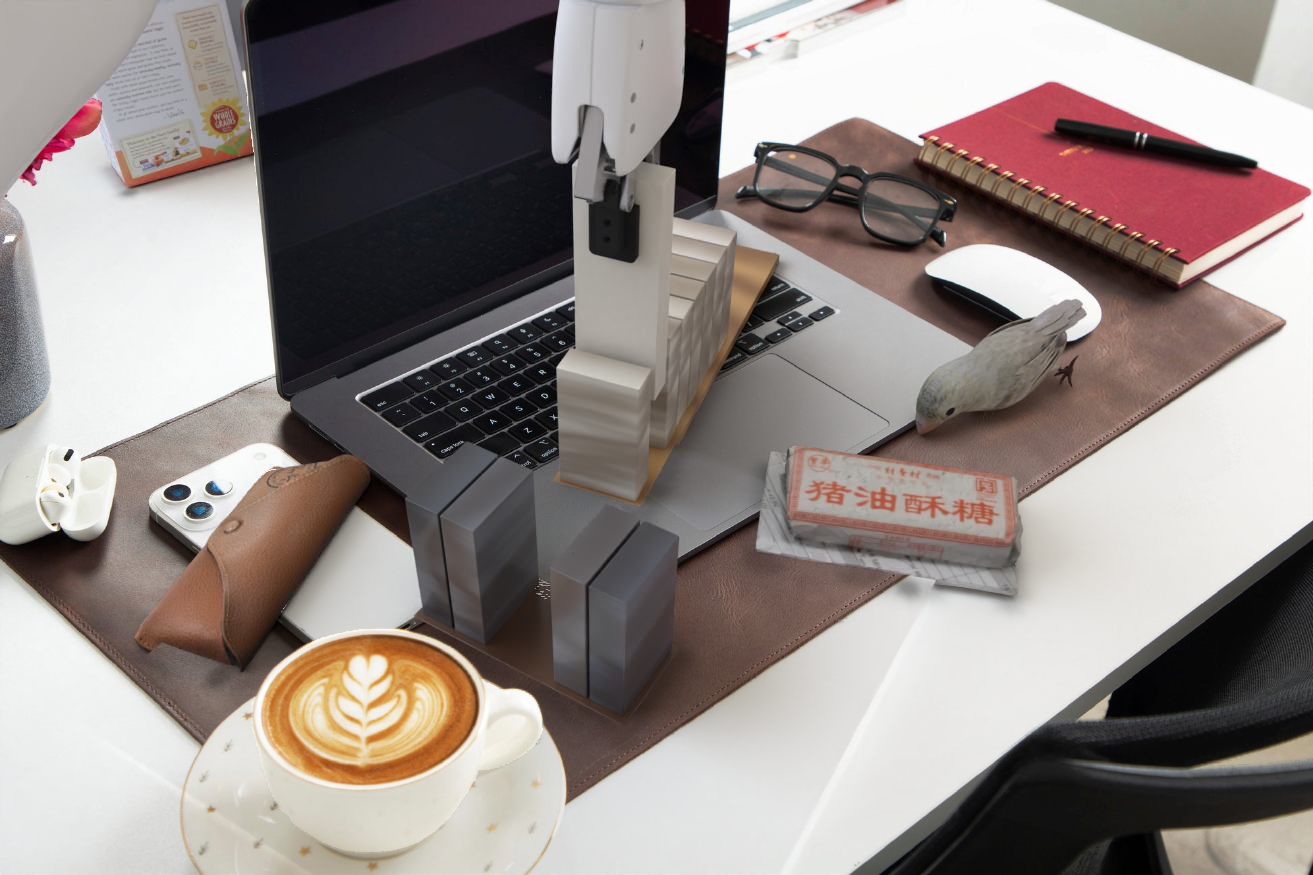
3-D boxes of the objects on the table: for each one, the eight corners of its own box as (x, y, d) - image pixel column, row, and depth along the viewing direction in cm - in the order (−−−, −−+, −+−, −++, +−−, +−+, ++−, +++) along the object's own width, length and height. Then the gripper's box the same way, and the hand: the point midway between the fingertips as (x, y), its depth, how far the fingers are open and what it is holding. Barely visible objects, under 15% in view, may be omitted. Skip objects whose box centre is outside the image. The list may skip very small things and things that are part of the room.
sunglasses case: (268, 459, 85) (296, 410, 81) (350, 510, 86) (382, 464, 82) (124, 647, 72) (148, 600, 68) (223, 703, 73) (253, 661, 69)
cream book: (654, 401, 80) (663, 185, 69) (575, 380, 81) (571, 164, 70) (665, 382, 81) (676, 168, 70) (588, 362, 83) (586, 148, 72)
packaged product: (1023, 452, 82) (1032, 554, 75) (1007, 500, 85) (1014, 602, 78) (773, 417, 84) (758, 513, 77) (767, 465, 87) (752, 561, 80)
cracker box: (241, 131, 124) (195, -70, 110) (262, 154, 120) (217, -51, 106) (108, 165, 117) (41, -44, 103) (126, 190, 114) (59, -23, 100)
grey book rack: (680, 655, 74) (690, 532, 66) (624, 735, 69) (627, 613, 61) (479, 557, 79) (466, 433, 72) (414, 625, 75) (393, 501, 67)
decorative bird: (892, 417, 92) (909, 342, 87) (1033, 355, 99) (1056, 283, 94) (938, 456, 89) (959, 380, 84) (1081, 390, 95) (1108, 316, 90)
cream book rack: (640, 516, 83) (644, 394, 75) (552, 490, 84) (547, 368, 77) (778, 263, 108) (792, 152, 100) (708, 247, 110) (717, 136, 102)
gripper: (618, -101, 68) (615, 176, 80) (496, -8, 57) (515, 297, 69) (738, -82, 66) (716, 198, 79) (637, 17, 55) (630, 327, 67)
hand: (622, 242), depth 74 cm, fingers closed on cream book, 2 cm apart
